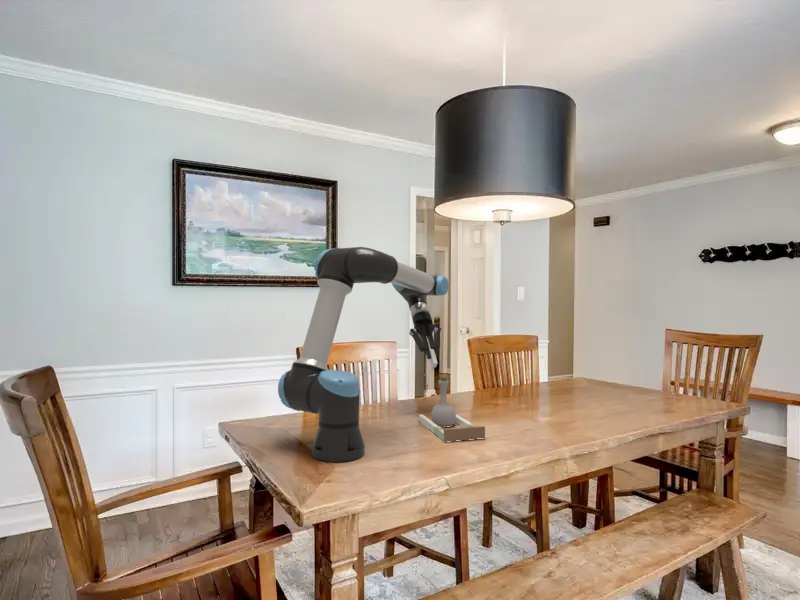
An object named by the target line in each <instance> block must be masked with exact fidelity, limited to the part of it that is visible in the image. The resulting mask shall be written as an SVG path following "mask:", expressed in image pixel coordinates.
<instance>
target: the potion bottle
mask: <svg viewBox="0 0 800 600" xmlns="http://www.w3.org/2000/svg"><path fill="white" fill-rule="evenodd" d="M439 376H440V379H439V380H438V381H437V383H438V385H439V387H440V395H439V396H440V397H439V399H440V400H439V403H437V404H434V406H433V407H432V409H431V413H430V414H431V415H430V416H431V421H432V422H434V423H435V424H436V425H438V426H440V427H444V426H445V427H447V426H451V425H452V424H453V425H454V424H455V423H454V422H455V418H456V414H457V413H456V410H455V408H454V407H453V405H452V404H448V403H447V389H448V388H447V387H448V385H449V381H450V380H449V379H448V375H447V374H446V373H443V374H440V375H439Z"/></svg>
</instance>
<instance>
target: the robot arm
mask: <svg viewBox="0 0 800 600" xmlns="http://www.w3.org/2000/svg"><path fill="white" fill-rule="evenodd" d="M314 271H315V273H314V275H315V277H316V279H317V281H316V282H317V285H318V286H319V291H318V295H317V298H316V301H315V303H314V304H315V305H314V308H313V312H312V315H311V318H310V323H309V325H308V328H307V332H306V336H305V339H304V341H303V345H302V349H301V352H300V356H299V358H298V359H296V360H294V361H293V362H292V365H291V367H290V368H291V369H289V370H287V371H285V372H284V373H283V374H282V375H281V376H280V378H279V380H278V384H277V393H278V397H279V399H280V402H281V403H282V404H283V405H284V406H285V407H286V408H289V409H291V410H293V411H297V412H305V413H311V414H316V415H318V428H317V431H316V434H315V438H314V441H313V443H312V448H311V454H312V457H313V458H315V459H317V460H318V461H322V462H330V463H342V462H350V461H354V460H358V459H360V458H362V457H363V456H364V455H365V453H366V450H365V448H366V446H365V441H364V439H363V438H364V437H363V436H362V433H361V428H360V394H361V390H360V380H359V378H358V376H357V375H355V374H353V373H352V372H349V371H345V370H335V369H329V367H328V361H329V357H330V353H331V350H332V347H333V342H334V339H335V335H336V332H337V328H338V325H339V320H340V318H341V314H342V310H343V306H344V303H345V299H346V296H348V295H349V294H351V293H352V291H353V288H354V284H363V283H365V284H367V283H380V284H382V285H383V284H386V285H387V284H389V283H390V284H392V285H391V286H392V287H393V288H394V289H395V292H397V293H398V294H399V295H400V296H401V297H402V298H403V299H404V300H405V301H406V302H407V304H408V308H409V311H410V312H409V313H410V316H411V319H412V323H413V328H410V330H409V335H410V336H411V337H412V338H413V341H414V342H415V344H416V346H417V347H418V350H419V352H422V353H423V352H424V354H425V355H426V359H427V360H429V361H430V364H431V368H437V365H438V363H439V362H438V360H437V359H438V355H439V354H438V353H437V352H438V351H439V350H440V348H441V331H442V328H441V327H436V325H435V324H434V321H433V319H432V316H431V312H430V309H429V305H428V302H427V298H426V296H437V297H439V296H445V295H447V293H448V291H449V280H448V278H447V277H446V276H445V275H433V274H431V273H428V272H425V271H422V270H420V269H417V268H414V267H411V266H409V265H407V264H404V263H402V262H399V261H397V259H396V258H395V257H394V256H393V255H390V254H389V253H384V252H382V251H379V250H376V249H373V248H370V247H365V246H355V247H332V248H329V249H328V248H327V249H325V250H323V251H322V252H321V253H319V255H317V257H316V260H315V262H314ZM433 332H434V335H435V340H434V336H433Z"/></svg>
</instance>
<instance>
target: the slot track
mask: <svg viewBox="0 0 800 600" xmlns="http://www.w3.org/2000/svg"><path fill="white" fill-rule="evenodd" d="M455 414H456V418H455V422H456V423H457V424H459V425H461V426H462V427H449V428H442V427H439V426H438V425H436V424H435V423H434V422H433V421H432V419H429V418H428V417H427V416H425V415H424V414H418V422H419V421H420V422H421V423H422V424H421V423H420V422H419V423H420V424H421V425H422V426H423V427H425V426H426V427H427V428H426V427H425V428H426V429H428V430H429V429H430V430H431V431H432V432H433V433H432V432H431V431H430V430H429V431H430V432H431V433H432V434H434V433H435V434H436V435H437V436H438V437H437V436H436V435H435V434H434V435H435V436H436V437H437V438H439V437H440V438H441V439H442V440H444V441H445V442H447V441H456V440H469V439H477V438H485V439H486V426H485V425H477V424H473V423H472V422H469V421H468V420H467V419H465V418H463V417H461V416H460V415H458V414H457V413H455ZM456 423H455V424H456ZM457 424H456V425H457ZM459 425H458V426H459ZM440 438H439V439H440ZM441 439H440V440H441ZM442 440H441V441H442ZM444 441H443V442H444ZM445 442H444V443H445ZM447 443H448V442H447Z"/></svg>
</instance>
